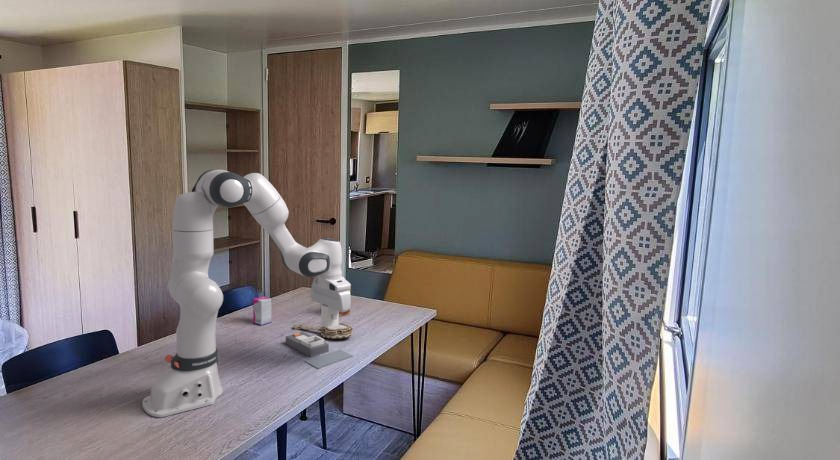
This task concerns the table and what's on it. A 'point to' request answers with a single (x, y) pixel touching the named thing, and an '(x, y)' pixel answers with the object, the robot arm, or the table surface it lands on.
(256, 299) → the supplement box
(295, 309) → the table surface
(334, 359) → the slate mat
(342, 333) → the hand mirror
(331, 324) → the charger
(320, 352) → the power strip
